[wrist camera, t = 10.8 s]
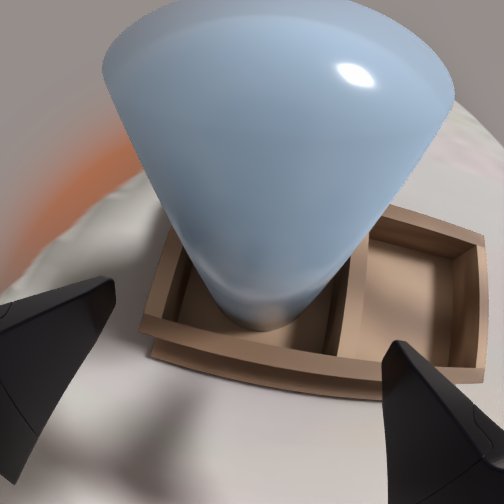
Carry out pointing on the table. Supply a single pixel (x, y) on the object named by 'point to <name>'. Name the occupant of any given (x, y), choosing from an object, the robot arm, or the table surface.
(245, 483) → the table surface
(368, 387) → the wooden divided tray
